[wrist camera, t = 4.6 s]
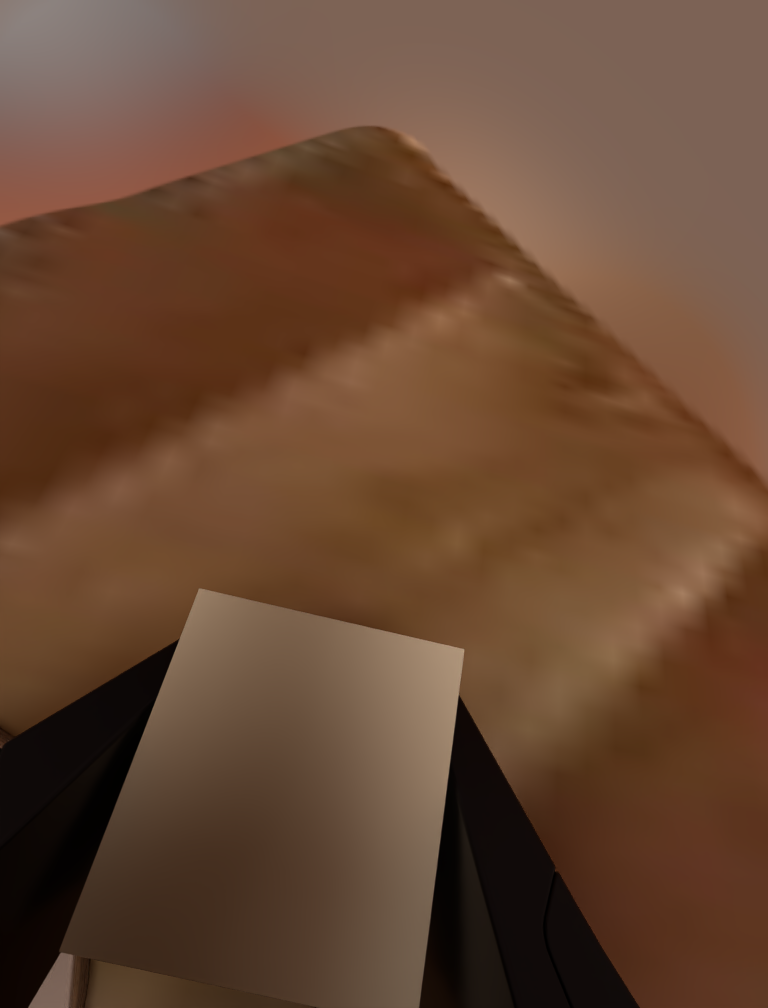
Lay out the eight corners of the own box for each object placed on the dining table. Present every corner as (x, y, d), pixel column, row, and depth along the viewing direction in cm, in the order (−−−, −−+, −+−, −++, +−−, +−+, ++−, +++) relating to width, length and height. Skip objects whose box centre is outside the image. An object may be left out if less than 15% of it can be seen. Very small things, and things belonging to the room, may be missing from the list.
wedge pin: (395, 648, 15) (464, 649, 6) (370, 784, 13) (416, 1029, 5) (282, 622, 15) (199, 587, 6) (243, 755, 13) (58, 951, 5)
